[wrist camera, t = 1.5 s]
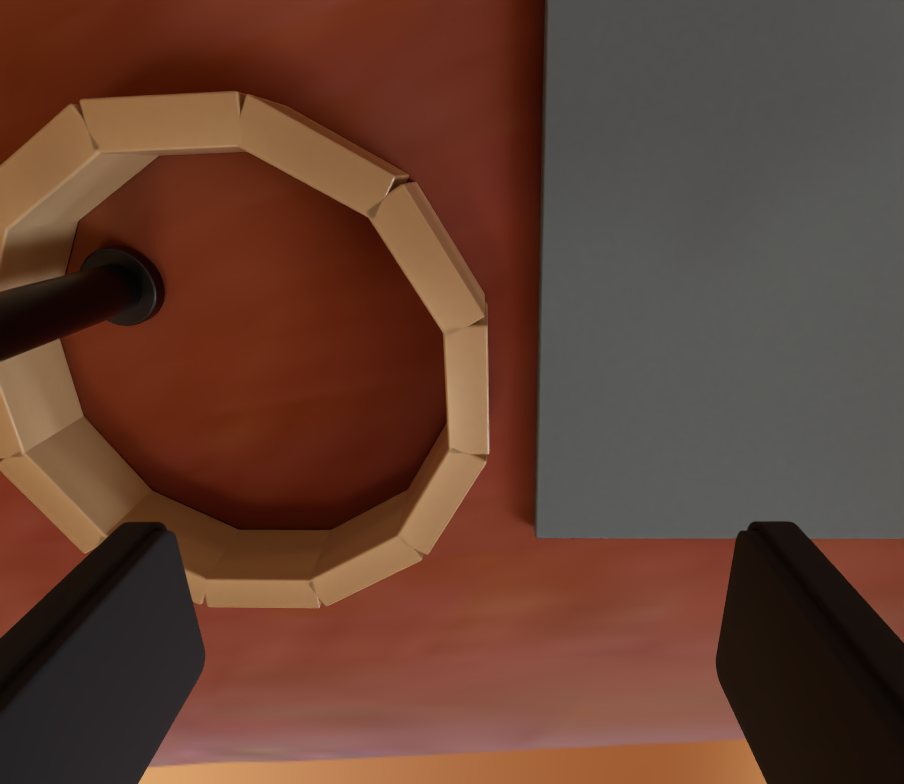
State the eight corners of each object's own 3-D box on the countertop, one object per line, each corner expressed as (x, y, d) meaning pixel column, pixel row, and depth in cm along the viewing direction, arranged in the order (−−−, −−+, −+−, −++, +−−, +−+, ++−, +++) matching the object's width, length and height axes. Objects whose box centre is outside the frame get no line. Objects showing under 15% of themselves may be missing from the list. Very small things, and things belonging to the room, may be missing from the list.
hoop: (-47, 119, 17) (-147, 110, 15) (484, 92, 16) (483, 76, 14) (97, 554, 24) (46, 606, 21) (491, 556, 22) (491, 610, 20)
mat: (546, -114, 15) (548, -126, 14) (1398, -177, 13) (1438, -193, 13) (534, 529, 22) (535, 538, 21) (1079, 529, 21) (1096, 540, 20)
